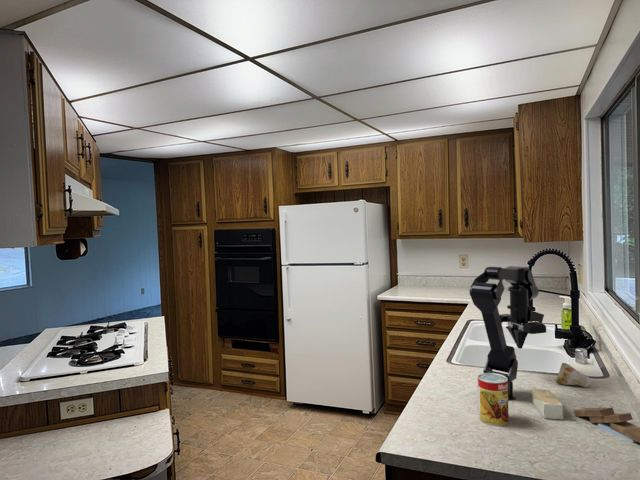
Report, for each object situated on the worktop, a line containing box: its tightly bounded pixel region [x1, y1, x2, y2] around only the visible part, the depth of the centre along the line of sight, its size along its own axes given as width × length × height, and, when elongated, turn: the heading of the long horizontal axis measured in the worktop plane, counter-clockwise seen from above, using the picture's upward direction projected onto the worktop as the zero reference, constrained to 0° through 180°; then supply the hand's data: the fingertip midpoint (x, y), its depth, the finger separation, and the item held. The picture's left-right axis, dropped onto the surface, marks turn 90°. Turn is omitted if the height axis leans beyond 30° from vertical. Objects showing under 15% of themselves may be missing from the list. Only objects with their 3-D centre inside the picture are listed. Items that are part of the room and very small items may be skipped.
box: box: [532, 389, 564, 420], centre depth 126 cm, size 5×4×11 cm
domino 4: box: [610, 421, 640, 444], centre depth 109 cm, size 2×4×9 cm
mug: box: [555, 362, 591, 388], centre depth 146 cm, size 8×10×10 cm
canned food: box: [477, 373, 510, 427], centre depth 122 cm, size 8×8×12 cm
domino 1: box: [573, 407, 615, 417], centre depth 119 cm, size 2×4×9 cm
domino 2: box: [588, 412, 634, 424], centre depth 115 cm, size 2×4×9 cm
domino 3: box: [597, 423, 637, 443], centre depth 112 cm, size 2×4×9 cm
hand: (519, 348), depth 149 cm, fingers closed
